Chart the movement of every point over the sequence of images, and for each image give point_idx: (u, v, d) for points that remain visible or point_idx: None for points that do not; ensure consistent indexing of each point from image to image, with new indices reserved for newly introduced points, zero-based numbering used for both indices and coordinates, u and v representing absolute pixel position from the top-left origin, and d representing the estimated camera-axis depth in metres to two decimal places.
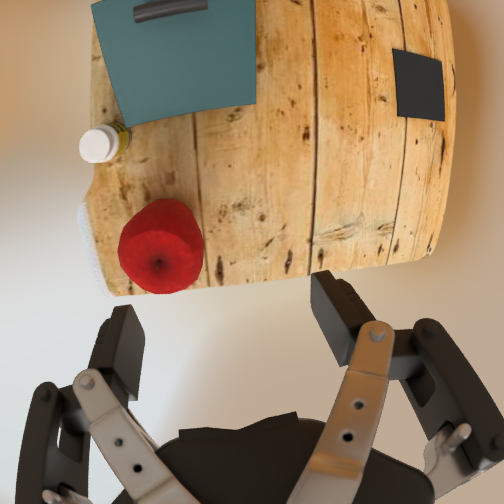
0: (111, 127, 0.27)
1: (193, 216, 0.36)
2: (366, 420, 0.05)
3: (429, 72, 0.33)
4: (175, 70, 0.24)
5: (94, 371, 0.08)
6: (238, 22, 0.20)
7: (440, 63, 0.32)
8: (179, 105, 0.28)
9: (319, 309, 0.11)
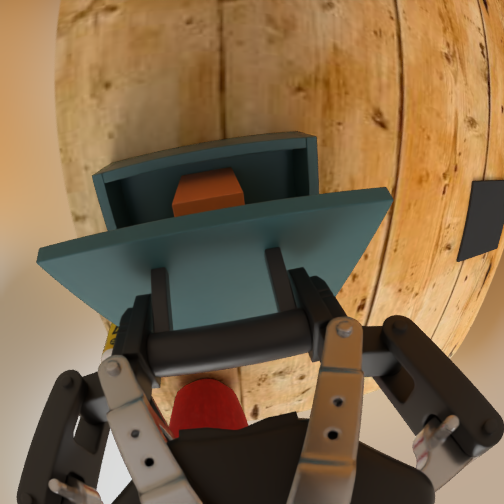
0: None
1: (237, 403, 0.31)
2: (348, 416, 0.05)
3: (498, 199, 0.28)
4: (220, 319, 0.19)
5: (120, 357, 0.08)
6: (330, 270, 0.15)
7: None
8: None
9: None
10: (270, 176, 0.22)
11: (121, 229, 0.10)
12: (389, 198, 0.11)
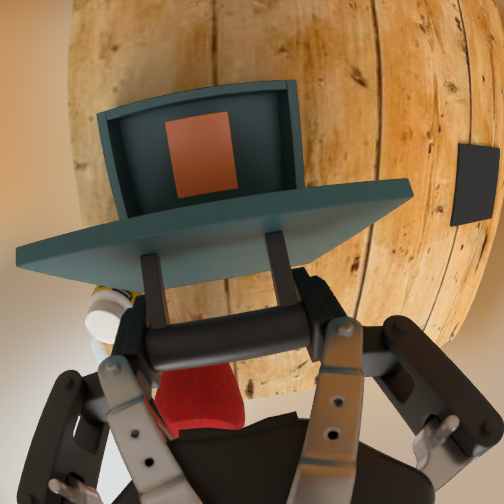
0: (121, 295, 0.23)
1: (228, 368, 0.31)
2: (348, 416, 0.05)
3: (488, 166, 0.29)
4: (210, 272, 0.19)
5: (120, 357, 0.08)
6: (330, 238, 0.15)
7: (499, 151, 0.28)
8: (212, 279, 0.23)
9: None
10: (257, 122, 0.23)
11: (103, 226, 0.08)
12: (410, 194, 0.09)
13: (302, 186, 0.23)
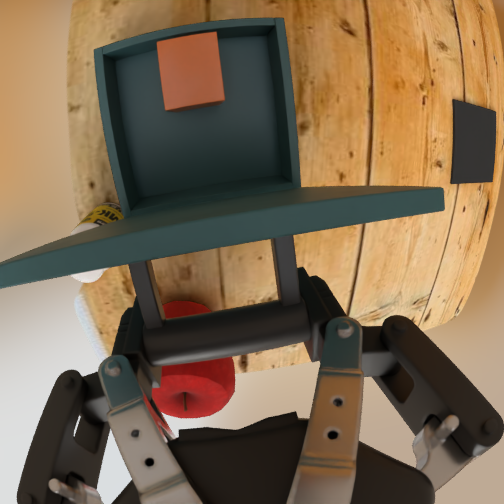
0: None
1: None
2: (348, 416, 0.05)
3: (484, 126, 0.27)
4: None
5: (121, 357, 0.08)
6: None
7: (495, 114, 0.26)
8: None
9: None
10: (248, 61, 0.21)
11: (80, 247, 0.06)
12: (441, 207, 0.08)
13: (293, 114, 0.21)
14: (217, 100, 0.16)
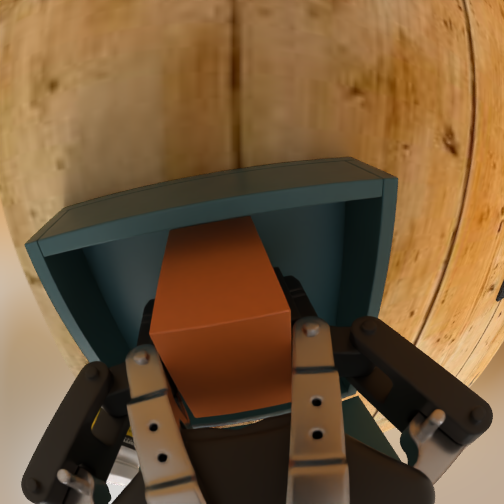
0: (126, 448, 0.14)
1: None
2: (329, 414, 0.05)
3: None
4: None
5: (148, 346, 0.09)
6: None
7: None
8: None
9: None
10: (310, 228, 0.14)
11: None
12: None
13: None
14: None
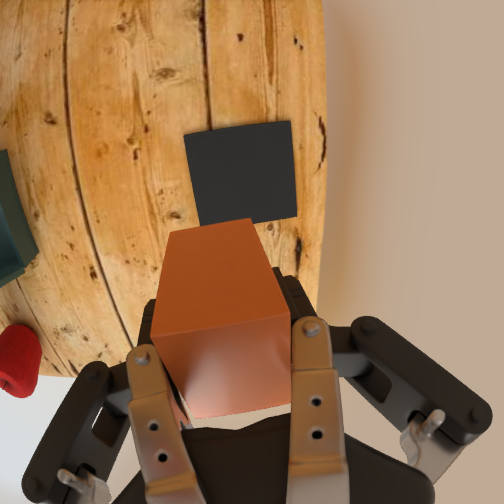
0: None
1: (28, 343, 0.33)
2: (329, 414, 0.05)
3: (260, 149, 0.30)
4: None
5: (149, 346, 0.09)
6: None
7: (287, 125, 0.29)
8: None
9: None
10: None
11: None
12: None
13: (5, 222, 0.24)
14: (279, 405, 0.10)
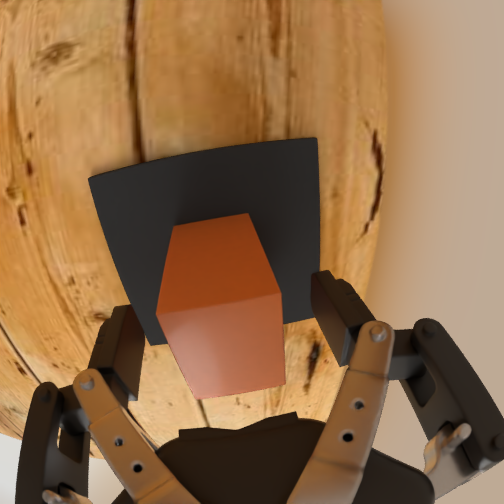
0: None
1: None
2: (366, 420, 0.05)
3: (250, 202, 0.14)
4: None
5: (94, 371, 0.08)
6: None
7: (311, 147, 0.13)
8: None
9: (319, 309, 0.11)
10: None
11: None
12: None
13: None
14: (274, 386, 0.11)
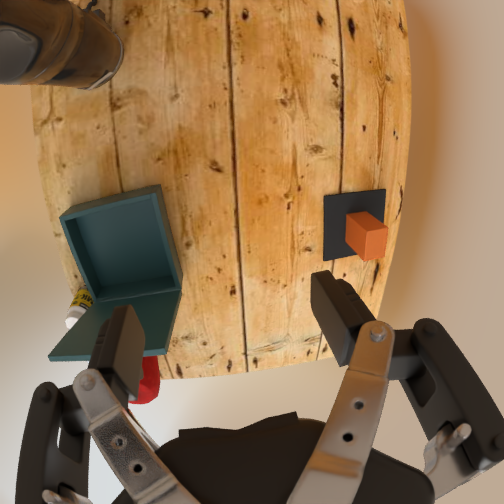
0: (83, 309, 0.39)
1: None
2: (366, 420, 0.05)
3: (367, 207, 0.45)
4: None
5: (94, 371, 0.08)
6: None
7: (384, 192, 0.44)
8: None
9: (319, 309, 0.11)
10: (146, 211, 0.39)
11: (75, 356, 0.25)
12: (164, 353, 0.26)
13: (169, 252, 0.39)
14: None
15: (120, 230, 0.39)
